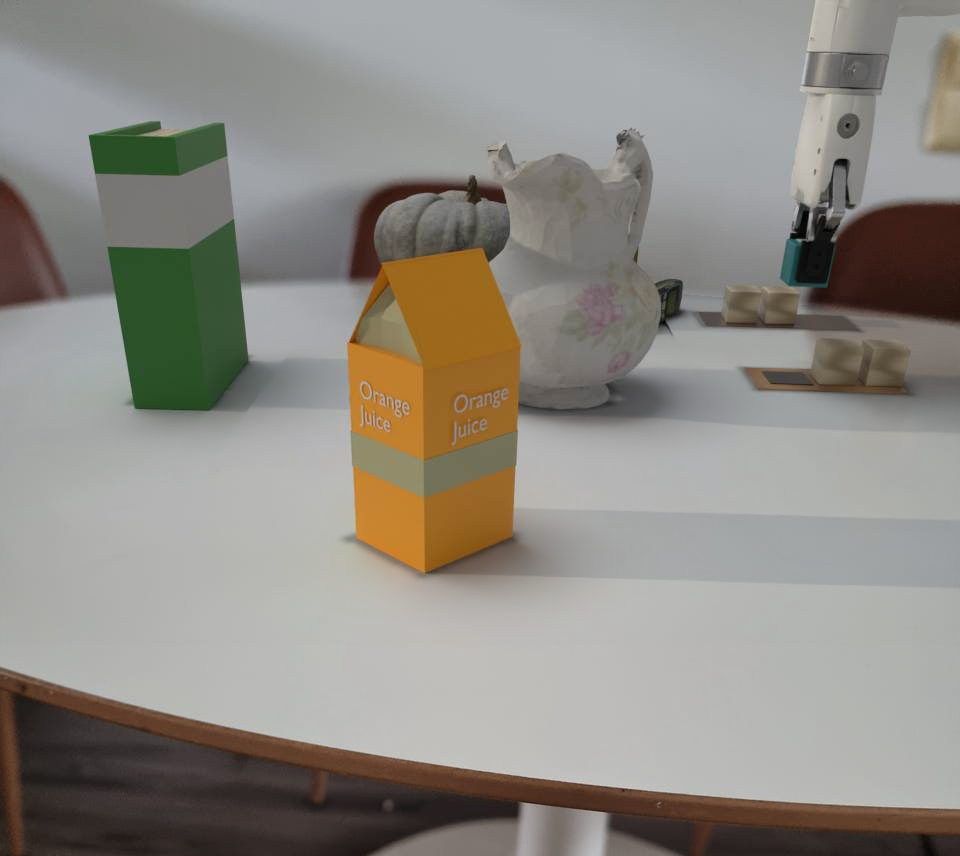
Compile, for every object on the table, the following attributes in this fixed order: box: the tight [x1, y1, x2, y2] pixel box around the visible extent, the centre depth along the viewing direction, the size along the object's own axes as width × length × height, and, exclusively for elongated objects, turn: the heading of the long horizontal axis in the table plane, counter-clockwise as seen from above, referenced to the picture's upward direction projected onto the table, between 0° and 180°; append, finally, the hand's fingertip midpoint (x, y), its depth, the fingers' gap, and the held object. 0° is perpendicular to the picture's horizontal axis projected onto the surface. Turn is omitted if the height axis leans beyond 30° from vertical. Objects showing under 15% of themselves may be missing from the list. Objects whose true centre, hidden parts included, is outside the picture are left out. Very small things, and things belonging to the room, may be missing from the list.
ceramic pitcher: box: [484, 127, 661, 410], centre depth 97 cm, size 22×20×25 cm
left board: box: [696, 284, 860, 332], centre depth 130 cm, size 20×8×5 cm, turn 88°
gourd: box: [373, 174, 510, 267], centre depth 132 cm, size 25×25×17 cm
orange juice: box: [346, 248, 522, 574], centre depth 66 cm, size 8×9×20 cm
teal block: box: [779, 238, 836, 289], centre depth 101 cm, size 4×4×4 cm
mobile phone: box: [654, 278, 684, 324], centre depth 130 cm, size 5×3×15 cm
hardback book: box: [88, 120, 250, 411], centre depth 97 cm, size 18×7×24 cm, turn 179°
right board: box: [742, 337, 912, 395], centre depth 107 cm, size 16×8×5 cm, turn 88°
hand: (804, 276), depth 102 cm, fingers closed on teal block, 4 cm apart
